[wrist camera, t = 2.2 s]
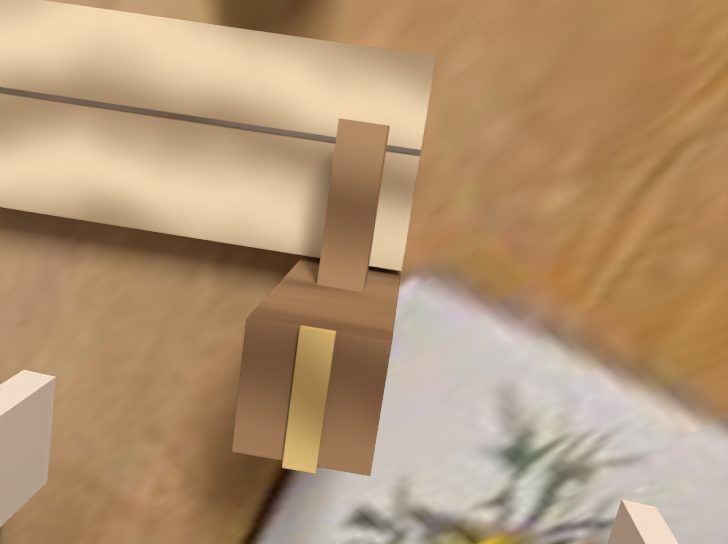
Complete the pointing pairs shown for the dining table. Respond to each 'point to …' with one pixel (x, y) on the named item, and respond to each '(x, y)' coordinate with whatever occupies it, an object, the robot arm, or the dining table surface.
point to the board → (198, 125)
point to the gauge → (325, 331)
